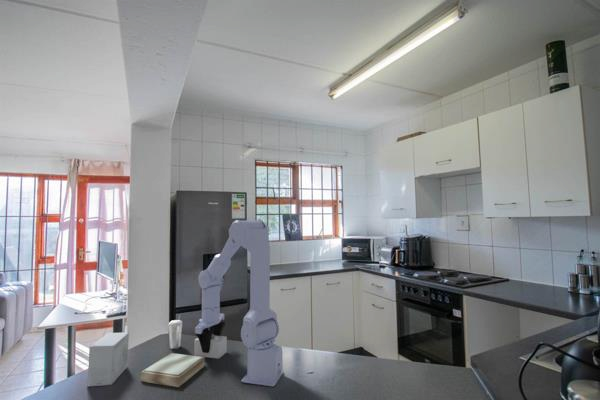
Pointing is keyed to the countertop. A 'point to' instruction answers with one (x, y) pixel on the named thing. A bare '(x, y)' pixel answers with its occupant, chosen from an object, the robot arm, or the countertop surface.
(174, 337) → the milkshake
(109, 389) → the countertop surface
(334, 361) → the countertop surface
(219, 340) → the block
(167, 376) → the stand
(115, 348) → the skincare box
